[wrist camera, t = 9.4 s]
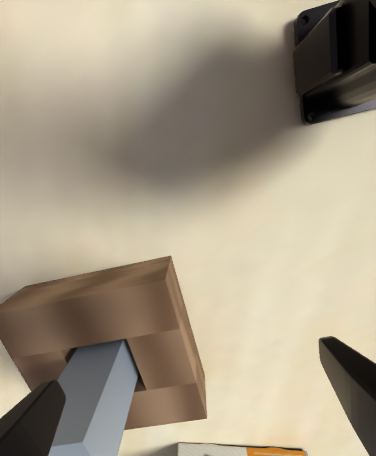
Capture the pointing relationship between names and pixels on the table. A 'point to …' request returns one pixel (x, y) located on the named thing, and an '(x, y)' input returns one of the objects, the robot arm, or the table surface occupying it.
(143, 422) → the mortise block
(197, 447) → the hard drive box
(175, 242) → the table surface
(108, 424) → the tenon peg
